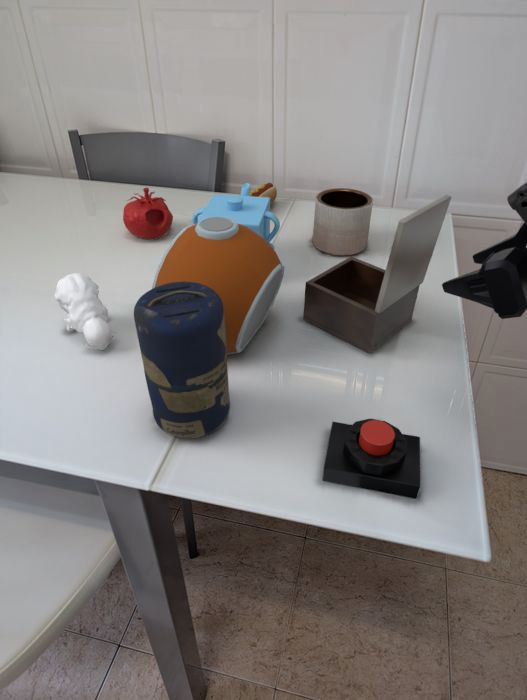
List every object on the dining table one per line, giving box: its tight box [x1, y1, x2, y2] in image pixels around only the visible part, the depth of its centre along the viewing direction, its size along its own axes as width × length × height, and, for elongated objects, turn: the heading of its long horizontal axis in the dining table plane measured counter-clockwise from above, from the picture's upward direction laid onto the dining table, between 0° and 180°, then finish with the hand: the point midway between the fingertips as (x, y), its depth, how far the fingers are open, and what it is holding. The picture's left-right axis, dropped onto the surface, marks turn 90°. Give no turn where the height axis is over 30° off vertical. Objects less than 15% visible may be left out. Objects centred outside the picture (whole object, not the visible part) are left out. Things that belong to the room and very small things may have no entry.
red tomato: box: [122, 187, 174, 240], centre depth 100 cm, size 10×10×9 cm
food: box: [250, 182, 278, 206], centre depth 111 cm, size 14×6×5 cm, turn 150°
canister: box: [133, 281, 231, 440], centre depth 56 cm, size 10×10×18 cm
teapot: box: [191, 182, 281, 250], centre depth 90 cm, size 18×16×13 cm
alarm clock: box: [151, 217, 285, 356], centre depth 71 cm, size 19×18×17 cm
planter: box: [312, 187, 374, 257], centre depth 96 cm, size 11×11×10 cm
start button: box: [359, 419, 395, 456], centre depth 53 cm, size 4×4×2 cm
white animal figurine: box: [54, 272, 116, 351], centre depth 72 cm, size 6×8×12 cm
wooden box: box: [302, 256, 421, 354], centre depth 76 cm, size 13×12×7 cm
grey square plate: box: [375, 194, 452, 313], centre depth 66 cm, size 13×12×1 cm
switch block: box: [322, 418, 421, 500], centre depth 55 cm, size 10×7×4 cm
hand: (459, 272), depth 60 cm, fingers open, 9 cm apart
